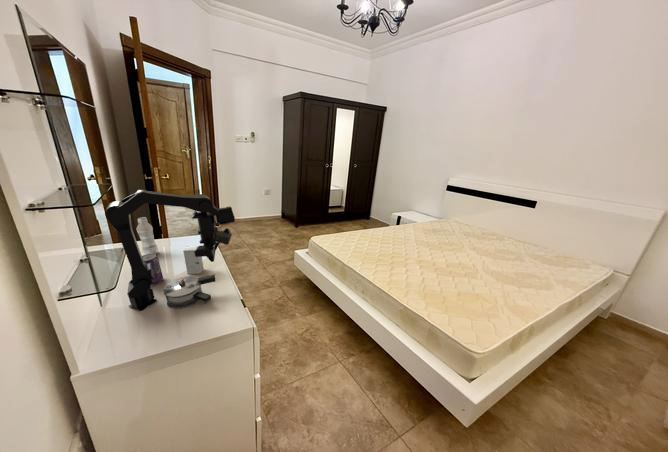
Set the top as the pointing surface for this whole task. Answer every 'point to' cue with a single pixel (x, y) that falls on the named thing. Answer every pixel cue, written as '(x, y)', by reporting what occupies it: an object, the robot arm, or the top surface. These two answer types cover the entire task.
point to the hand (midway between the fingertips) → (212, 261)
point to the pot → (188, 300)
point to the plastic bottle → (146, 236)
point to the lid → (186, 285)
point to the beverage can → (154, 267)
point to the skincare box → (192, 260)
